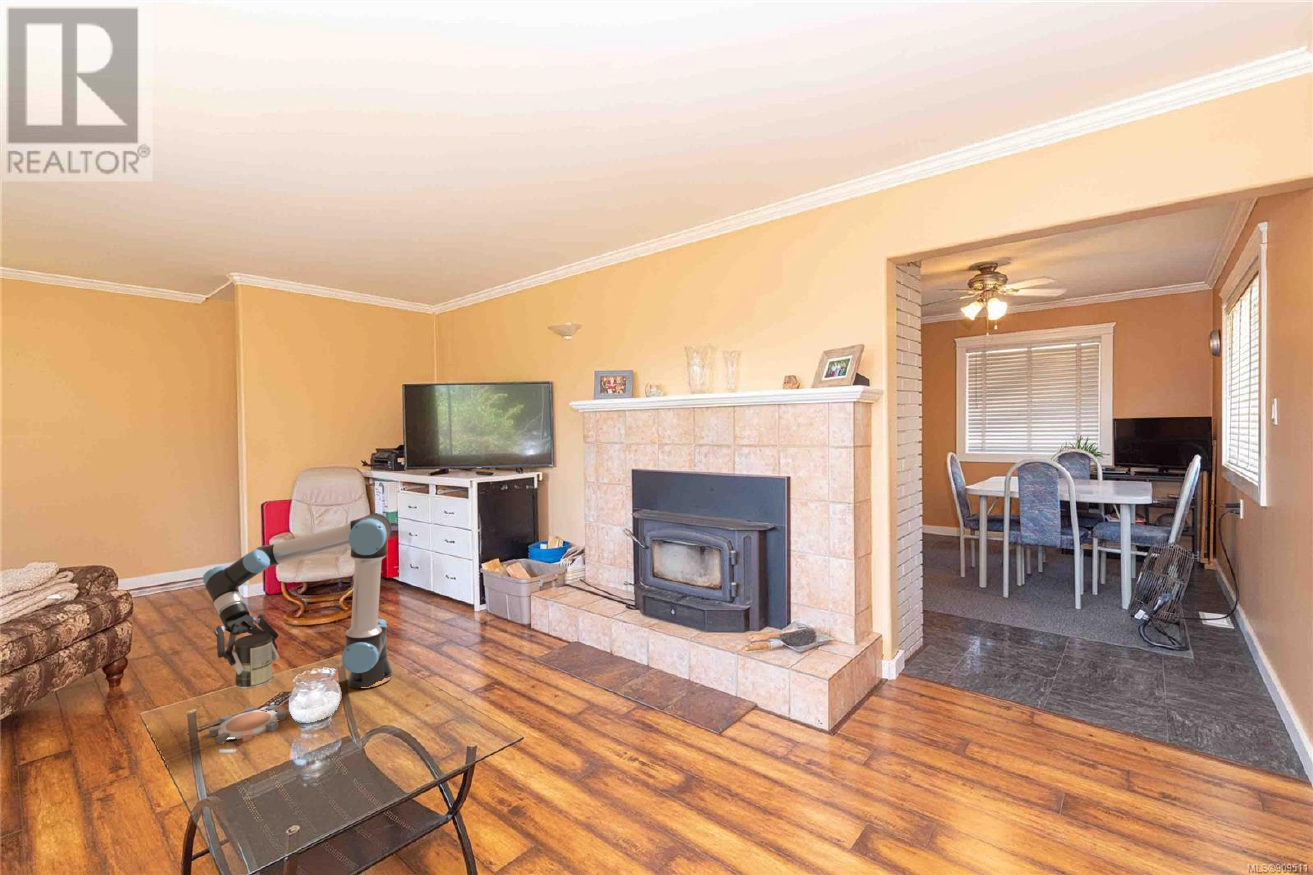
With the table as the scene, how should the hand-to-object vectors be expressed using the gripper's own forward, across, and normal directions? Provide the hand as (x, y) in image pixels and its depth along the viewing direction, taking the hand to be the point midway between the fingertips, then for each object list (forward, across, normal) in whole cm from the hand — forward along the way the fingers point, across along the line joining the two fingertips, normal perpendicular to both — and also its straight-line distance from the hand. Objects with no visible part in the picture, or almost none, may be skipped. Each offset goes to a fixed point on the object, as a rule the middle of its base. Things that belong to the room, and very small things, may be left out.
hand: (259, 665), depth 190 cm
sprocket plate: (+11, 0, -19) cm, 22 cm away
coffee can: (+2, 0, -6) cm, 7 cm away
